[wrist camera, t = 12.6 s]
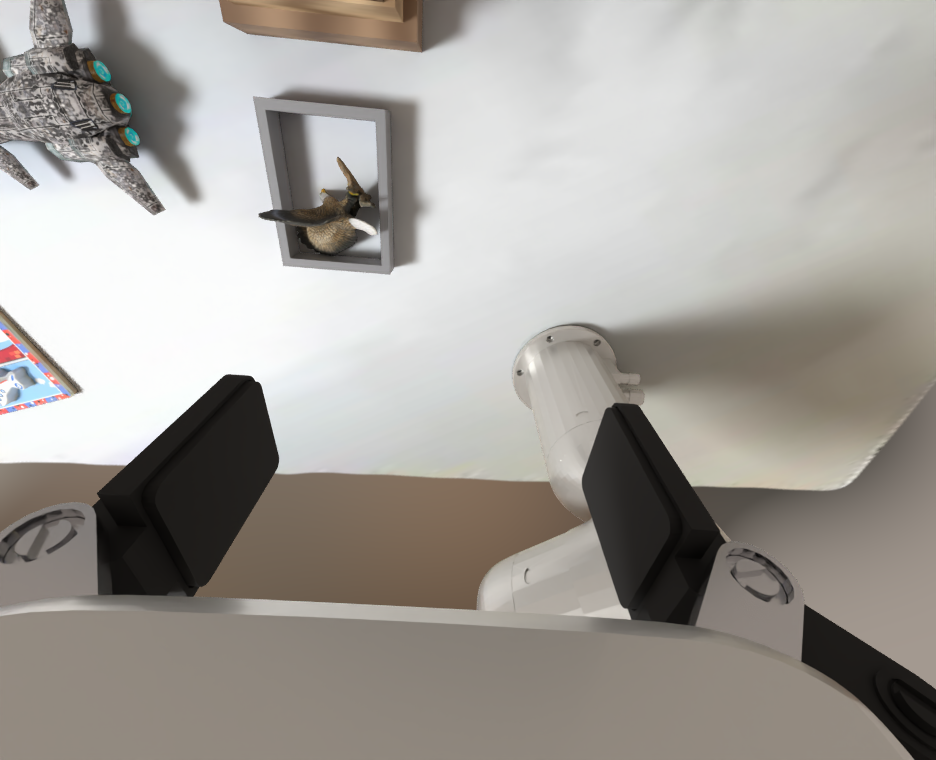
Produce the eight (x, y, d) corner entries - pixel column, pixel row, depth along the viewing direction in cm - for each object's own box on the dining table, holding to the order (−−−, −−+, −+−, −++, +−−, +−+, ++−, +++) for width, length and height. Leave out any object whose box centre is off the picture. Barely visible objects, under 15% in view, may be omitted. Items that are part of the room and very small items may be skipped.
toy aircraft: (-146, -2, 29) (-258, -28, 25) (101, -27, 28) (31, -59, 24) (7, 223, 38) (-55, 234, 33) (199, 208, 37) (161, 218, 33)
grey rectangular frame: (390, 111, 33) (385, 109, 31) (394, 267, 40) (389, 274, 38) (267, 99, 32) (252, 96, 30) (293, 259, 40) (283, 265, 37)
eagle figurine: (327, 134, 33) (249, 195, 34) (349, 174, 29) (260, 241, 30) (377, 201, 39) (310, 251, 40) (399, 241, 36) (325, 294, 37)
